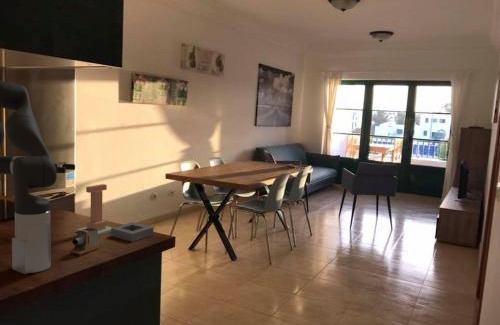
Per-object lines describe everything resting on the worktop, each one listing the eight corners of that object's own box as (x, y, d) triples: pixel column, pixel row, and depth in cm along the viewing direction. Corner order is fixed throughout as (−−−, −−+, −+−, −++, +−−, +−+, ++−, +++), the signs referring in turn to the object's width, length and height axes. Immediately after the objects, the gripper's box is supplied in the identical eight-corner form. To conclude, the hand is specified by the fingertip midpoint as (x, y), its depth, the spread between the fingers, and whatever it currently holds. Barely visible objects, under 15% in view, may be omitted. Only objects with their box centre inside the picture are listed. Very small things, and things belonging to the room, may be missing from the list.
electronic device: (68, 255, 134) (68, 232, 133) (88, 246, 143) (89, 225, 142) (79, 257, 133) (79, 234, 132) (99, 248, 142) (99, 227, 141)
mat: (94, 237, 153) (94, 234, 153) (76, 231, 158) (76, 229, 158) (115, 230, 162) (115, 228, 162) (97, 226, 166) (97, 223, 166)
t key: (92, 232, 155) (92, 188, 153) (83, 230, 157) (83, 186, 155) (108, 227, 162) (109, 185, 160) (99, 225, 164) (100, 183, 162)
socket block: (132, 241, 150) (132, 233, 150) (110, 236, 155) (111, 228, 155) (153, 234, 160) (153, 227, 159) (132, 229, 165) (132, 222, 164)
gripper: (16, 158, 149) (61, 161, 149) (36, 154, 163) (77, 156, 163) (16, 179, 150) (62, 181, 150) (36, 173, 164) (77, 175, 164)
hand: (70, 168), depth 156 cm, fingers open, 8 cm apart
